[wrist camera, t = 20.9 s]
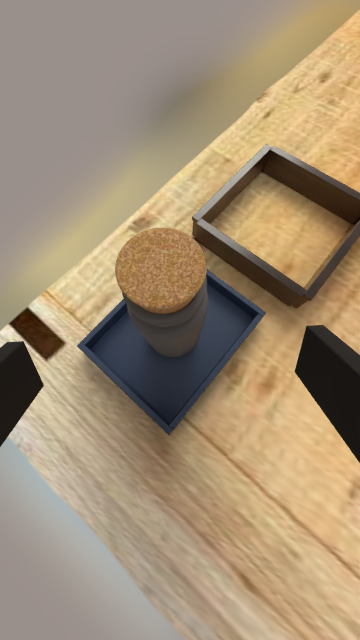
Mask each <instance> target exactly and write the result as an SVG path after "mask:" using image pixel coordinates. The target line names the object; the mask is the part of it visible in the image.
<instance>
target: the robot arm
mask: <svg viewBox="0 0 360 640" xmlns="http://www.w3.org/2000/svg"><path fill="white" fill-rule="evenodd" d="M295 373H296V374H297V376H298V377H299V378H300V380H301V381H302V383H303V384H304V385H305V387H306V388H307V390H308V391H309V392H310V394H311V395H312V397H313V398H314V399H315V401H316V402H317V404H318V405H319V406H320V408H321V409H322V411H323V412H324V413H325V415H326V416H327V418H328V419H329V420H330V422H331V423H332V425H333V426H334V427H335V429H336V430H337V432H338V433H339V434H340V436H341V437H342V439H343V440H344V441H345V443H346V444H347V446H348V447H349V448H350V450H351V451H352V453H353V454H354V455H355V457H356V458H357V460H358V461H359V462H360V355H359V354H358V353H356V352H355V351H354V350H353V349H352V348H350V347H349V346H348V345H347V344H345V343H344V342H343V341H342V340H341V339H339V338H338V337H337V336H336V335H335V334H333V333H332V332H331V331H330V330H328V329H327V328H326V327H325V326H324V325H316V326H306V330H305V334H304V338H303V342H302V346H301V350H300V353H299V357H298V361H297V365H296V369H295ZM43 386H44V385H43V383H42V380H41V378H40V376H39V374H38V372H37V370H36V367H35V365H34V363H33V361H32V359H31V357H30V354H29V352H28V350H27V348H26V346H25V344H24V341H22V342H7V343H6V344H4V345H3V346H2V347H1V348H0V446H1V445H2V444H3V442H4V441H5V440H6V438H7V437H8V435H9V434H10V432H11V431H12V430H13V428H14V427H15V425H16V424H17V423H18V421H19V420H20V418H21V417H22V416H23V414H24V413H25V411H26V410H27V408H28V407H29V406H30V404H31V403H32V401H33V400H34V399H35V397H36V396H37V394H38V393H39V391H40V390H41V389H42V387H43Z"/></svg>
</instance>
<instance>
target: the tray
mask: <svg viewBox="0 0 360 640" xmlns="http://www.w3.org/2000/svg"><path fill="white" fill-rule="evenodd" d="M206 278H207V289H206V290H207V295H208V307H207V312H206V315H205V319H204V322H203V325H202V329H201V332H200V335H199V338H198V341H197V343H196V345H195V347H194V348H193V349H192V350H191V351H190V352H189V353H188V354H186V355H184V356H182V357H178V358H169V357H165V356H163V355H161V354H159V353H158V352H157V351H155V350H154V349H153V347H152V346H151V345H150V344H149V343H148V341H147V340H146V339H145V338H144V336H143V335H142V334H141V333H140V331H139V330H138V329H137V328H136V326H135V325H134V323H133V322H132V320H131V318H130V316H129V313H128V309H127V304H126V302H125V300H124V299H123V300H122V301H121V302H120V303H119V304H118V305H117V306H116V307H115V308H114V309H113V310H112V311H111V312H110V313H109V314H108V315H107V316H106V317H105V318H104V319H103V320H102V321H101V322H100V323H99V324H98V325H97V326H96V327H95V328H94V329H93V330H92V331H91V332H90V333H89V334H88V335H87V336H86V337H85V338H84V339H83V340H82V341H81V342H80V343H79V344H78V345H77V347H79V348H80V349H81V350H82V351H83V352H84V353H85V354H86V355H87V356H88V357H89V358H90V359H91V360H92V361H93V362H94V363H95V364H96V365H97V366H98V367H99V368H100V369H101V370H102V371H103V372H104V373H105V374H106V375H107V376H108V377H109V378H110V379H111V380H112V381H113V382H115V383H116V384H117V385H118V386H119V387H120V388H121V389H122V390H123V391H124V392H125V393H126V394H127V395H128V396H129V397H130V398H131V399H132V400H133V401H134V402H135V403H136V404H137V405H138V406H139V407H140V408H141V409H142V410H143V411H144V412H145V413H146V414H147V415H148V416H149V417H151V418H152V419H153V420H154V421H155V422H156V423H157V424H158V425H159V426H160V427H161V428H162V429H163V430H164V431H165V432H166V433H167V434H168V435H170V434H171V432H172V431H173V430H174V429H175V427H176V426H177V425H178V423H179V422H180V421H181V420H182V418H183V417H184V416H185V415H186V413H187V412H188V411H189V410H190V408H191V407H192V406H193V405H194V403H195V402H196V401H197V399H198V398H199V397H200V396H201V394H202V393H203V392H204V391H205V389H206V388H207V387H208V386H209V384H210V383H211V382H212V381H213V379H214V378H215V377H216V375H217V374H218V373H219V372H220V370H221V369H222V368H223V367H224V365H225V364H226V363H227V362H228V360H229V359H230V358H231V357H232V355H233V354H234V353H235V352H236V350H237V349H238V348H239V346H240V345H241V344H242V343H243V341H244V340H245V339H246V338H247V336H248V335H249V334H250V333H251V331H252V330H253V329H254V328H255V326H256V325H257V324H258V322H259V321H260V320H261V319H262V317H263V316H264V315H265V314H266V312H265V311H263V310H262V309H260V308H259V307H258V306H256V305H255V304H254V303H252V302H251V301H250V300H248V299H247V298H246V297H244V296H243V295H241V294H240V293H239V292H237V291H236V290H235V289H233V288H232V287H231V286H229V285H228V284H227V283H225V282H224V281H222V280H221V279H220V278H218V277H217V276H216V275H214V274H213V273H212V272H210V271H209V270H208V269H207V271H206Z"/></svg>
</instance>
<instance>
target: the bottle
mask: <svg viewBox="0 0 360 640" xmlns="http://www.w3.org/2000/svg"><path fill="white" fill-rule="evenodd" d="M206 271H207V265H206V258H205V255H204V253H203V251H202V249H201V247H200V246H199V244H198V243H197V242H196V241H195V240H194V239H193V238H192V237H190V236H189V235H187V234H186V233H183V232H181V231H179V230H175V229H170V228H155V229H150V230H146V231H143V232H141V233H139V234H137V235H136V236H134V237H133V238H131V239H130V240H129V241H128V242H127V243H126V244H125V245H124V246H123V248H122V249H121V251H120V253H119V255H118V258H117V261H116V268H115V273H116V279H117V282H118V285H119V287H120V289H121V290H122V294H123V297H124V300H125V302H126V304H127V309H128V313H129V316H130V318H131V320H132V322H133V323H134V325H135V326H136V328H137V329H138V330H139V331H140V333H141V334H142V335H143V336H144V338H145V339H146V340H147V341H148V343H149V344H150V345H151V346H152V347H153V349H154V350H155V351H157V352H158V353H159V354H161V355H163V356H165V357H169V358H178V357H182V356H184V355H186V354H188V353H189V352H190V351H191V350H192V349H193V348H194V347H195V345H196V343H197V341H198V338H199V335H200V332H201V329H202V325H203V322H204V319H205V315H206V312H207V307H208V295H207V290H206V289H207V278H206Z"/></svg>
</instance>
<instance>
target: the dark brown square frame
mask: <svg viewBox="0 0 360 640" xmlns="http://www.w3.org/2000/svg"><path fill="white" fill-rule="evenodd" d="M261 171H263V172H264V173H266V174H268V175H270V176H271V177H273V178H275V179H276V180H278V181H280V182H281V183H283V184H285V185H287V186H288V187H290V188H292V189H293V190H295V191H297V192H299V193H300V194H302V195H304V196H305V197H307V198H309V199H310V200H312V201H314V202H316V203H317V204H319V205H321V206H322V207H324V208H326V209H328V210H329V211H331V212H333V213H334V214H336V215H338V216H339V217H341V218H343V219H345V220H346V221H348V222H350V223H351V224H353V225H352V226H351V227H350V229H349V230H348V231H347V233H346V234H345V235H344V237H343V238H342V239H341V240H340V242H339V243H338V244H337V246H336V247H335V248H334V250H333V251H332V252H331V254H330V255H329V256H328V257H327V259H326V260H325V261H324V263H323V264H322V265H321V267H320V268H319V269H318V270H317V272H316V273H315V274H314V276H313V277H312V278H311V280H310V281H309V282H308V284H307V285H306V286H305V287H304V288H303V287H301V286H300V285H298V284H297V283H295V282H294V281H292V280H291V279H290V278H288V277H287V276H285V275H284V274H282V273H281V272H279V271H278V270H276V269H275V268H273V267H272V266H270V265H269V264H268V263H266V262H265V261H263V260H262V259H260V258H259V257H257V256H256V255H254V254H253V253H251V252H250V251H248V250H247V249H246V248H244V247H243V246H241V245H240V244H238V243H237V242H235V241H234V240H232V239H231V238H229V237H228V236H227V235H225V234H224V233H222V232H221V231H219V230H218V229H216V228H215V227H213V226H212V225H210V223H211V222H212V221H213V220H214V219H215V218H216V217H217V216H218V215H219V214H220V213H221V212H222V211H223V210H224V209H225V208H226V207H227V206H228V205H229V204H230V203H231V202H232V201H233V199H234V198H235V197H236V196H237V195H238V194H239V193H240V192H241V191H242V190H243V189H244V188H245V187H246V186H247V185H248V184H249V183H250V182H251V181H252V180H253V179H254V178H255V177H256V176H257V175H258V174H259V173H260V172H261ZM192 220H193V232H192V234H193V235H194V236H195V240H197V241H198V242H200V243H201V244H202V245H204V246H205V247H207V248H208V249H209V250H211V251H212V252H214V253H215V254H216V255H218V256H219V257H221V258H222V259H223V260H225V261H226V262H228V263H229V264H230V265H232V266H233V267H235V268H236V269H237V270H239V271H240V272H242V273H243V274H245V275H246V276H247V277H249V278H250V279H252V280H253V281H254V282H256V283H257V284H259V285H260V286H261V287H263V288H264V289H266V290H267V291H268V292H270V293H271V294H273V295H274V296H275V297H277V298H278V299H280V300H281V301H282V302H284V303H285V304H287V305H288V306H291V305H293V306H294V307H296V308H298V307H300V306H301V305H302V304H304V303H305V302H307V301H308V300H309V301H310V300H312V299H313V298H314V296H315V295H316V294H317V292H318V291H319V289H320V288H321V287H322V285H323V284H324V283H325V281H326V280H327V279H328V277H329V276H330V275H331V273H332V272H333V271H334V269H335V268H336V267H337V265H338V264H339V263H340V261H341V260H342V259H343V257H344V256H345V255H346V253H347V252H348V251H349V249H350V248H351V246H352V245H353V244H354V242H355V241H356V240H357V238H358V237H359V236H360V193H359V192H357V191H355V190H354V189H352V188H350V187H348V186H346V185H345V184H343V183H341V182H339V181H337V180H336V179H334V178H332V177H330V176H328V175H326V174H325V173H323V172H321V171H319V170H317V169H316V168H314V167H312V166H310V165H308V164H306V163H305V162H303V161H301V160H299V159H297V158H296V157H294V156H292V155H290V154H288V153H287V152H285V151H283V150H281V149H279V148H277V147H276V146H273V147H271V146H269V145H267V144H266V145H265V146H264V147H263V148H262V149H261V150H260V151H259V152H258V153H257V154H256V155H255V156H254V157H253V158H252V159H251V160H250V161H249V162H248V163H247V164H246V165H245V166H243V167H242V168H241V169H240V170H239V171H238V172H237V173H236V174H235V175H234V176H233V177H232V178H231V179H230V180H229V181H228V182H227V183H226V184H225V185H224V186H223V187H222V188H221V189H220V190H219V191H218V192H217V193H216V194H215V195H214V196H213V197H212V198H211V199H210V200H209V201H208V202H207V203H206V204H205V205H204V206H203V207H202V208H201V209H200V210H199V211H198V212H197V213H196V214H195V215H194V216H193V217H192Z"/></svg>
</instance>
